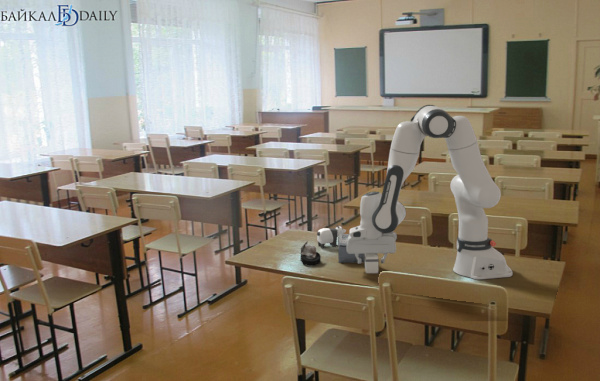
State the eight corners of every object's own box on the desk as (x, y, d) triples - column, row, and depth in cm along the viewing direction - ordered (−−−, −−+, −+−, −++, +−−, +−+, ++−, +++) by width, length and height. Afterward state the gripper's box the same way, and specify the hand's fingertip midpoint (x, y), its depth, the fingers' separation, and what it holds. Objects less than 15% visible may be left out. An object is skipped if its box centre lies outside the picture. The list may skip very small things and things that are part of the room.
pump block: (376, 266, 227) (376, 250, 226) (378, 273, 219) (378, 257, 218) (364, 266, 227) (364, 250, 226) (365, 273, 219) (365, 257, 218)
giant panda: (319, 249, 251) (319, 229, 249) (315, 246, 256) (314, 226, 254) (348, 245, 256) (348, 225, 254) (343, 241, 261) (343, 222, 259)
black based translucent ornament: (315, 272, 230) (294, 266, 234) (326, 258, 239) (306, 253, 242) (315, 259, 226) (294, 253, 230) (326, 246, 235) (306, 240, 239)
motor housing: (362, 251, 246) (362, 233, 244) (364, 262, 232) (364, 243, 230) (338, 251, 247) (337, 233, 245) (338, 262, 232) (338, 243, 231)
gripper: (395, 228, 222) (395, 260, 225) (346, 229, 223) (346, 260, 226) (397, 232, 216) (397, 265, 219) (346, 233, 217) (346, 266, 220)
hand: (371, 263), depth 222 cm, fingers open, 8 cm apart
